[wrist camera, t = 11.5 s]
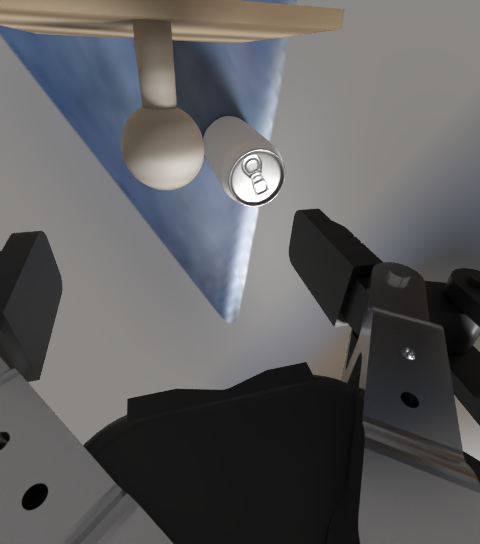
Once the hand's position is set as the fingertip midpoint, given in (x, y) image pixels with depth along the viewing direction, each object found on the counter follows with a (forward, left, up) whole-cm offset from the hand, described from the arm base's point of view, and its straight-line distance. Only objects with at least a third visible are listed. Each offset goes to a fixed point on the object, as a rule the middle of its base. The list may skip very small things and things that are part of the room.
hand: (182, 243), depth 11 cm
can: (+5, +9, -31) cm, 33 cm away
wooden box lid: (-6, 0, -12) cm, 14 cm away
